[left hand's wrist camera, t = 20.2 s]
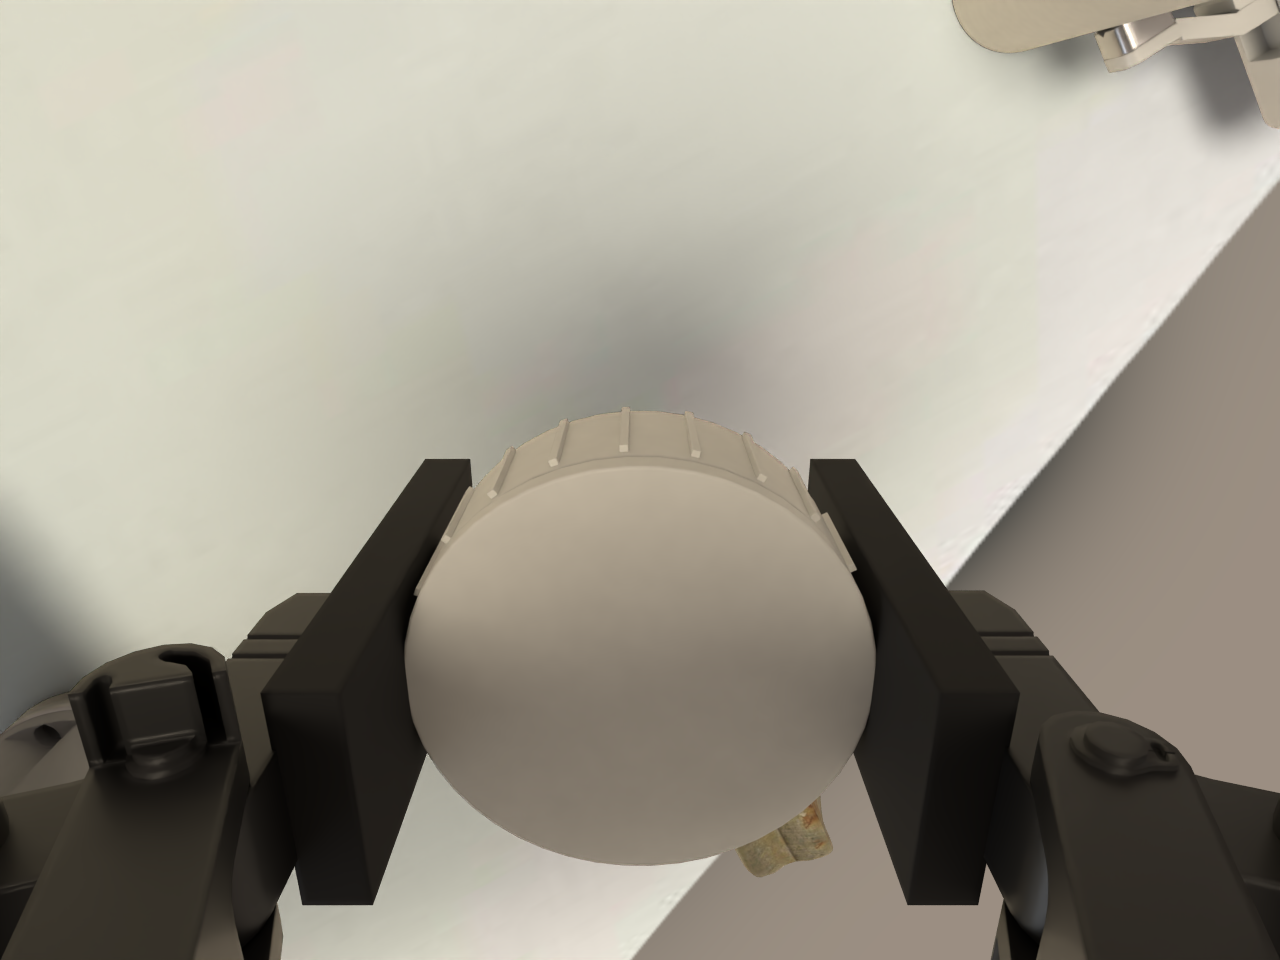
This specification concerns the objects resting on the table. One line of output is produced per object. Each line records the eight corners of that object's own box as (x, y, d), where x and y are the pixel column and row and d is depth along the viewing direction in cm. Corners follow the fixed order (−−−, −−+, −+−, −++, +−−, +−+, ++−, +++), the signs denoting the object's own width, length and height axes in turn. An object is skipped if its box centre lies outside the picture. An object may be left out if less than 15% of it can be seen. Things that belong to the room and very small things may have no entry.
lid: (809, 772, 13) (839, 882, 11) (438, 748, 13) (402, 857, 11) (877, 422, 11) (929, 481, 9) (434, 389, 11) (388, 442, 9)
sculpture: (694, 675, 45) (718, 908, 31) (650, 564, 43) (655, 763, 29) (797, 644, 44) (869, 868, 31) (758, 529, 42) (818, 716, 28)
